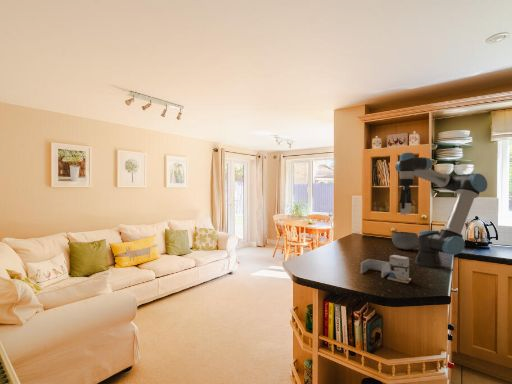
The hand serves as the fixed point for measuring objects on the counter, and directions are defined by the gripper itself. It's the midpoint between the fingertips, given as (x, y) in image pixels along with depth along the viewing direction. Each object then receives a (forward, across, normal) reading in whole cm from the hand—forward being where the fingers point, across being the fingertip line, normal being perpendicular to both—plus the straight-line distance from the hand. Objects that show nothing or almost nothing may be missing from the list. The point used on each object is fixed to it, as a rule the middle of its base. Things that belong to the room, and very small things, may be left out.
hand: (405, 214), depth 162 cm
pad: (+35, +19, +1) cm, 40 cm away
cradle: (+35, +15, -13) cm, 40 cm away
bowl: (+35, -82, -16) cm, 91 cm away
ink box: (+34, +19, +1) cm, 39 cm away
